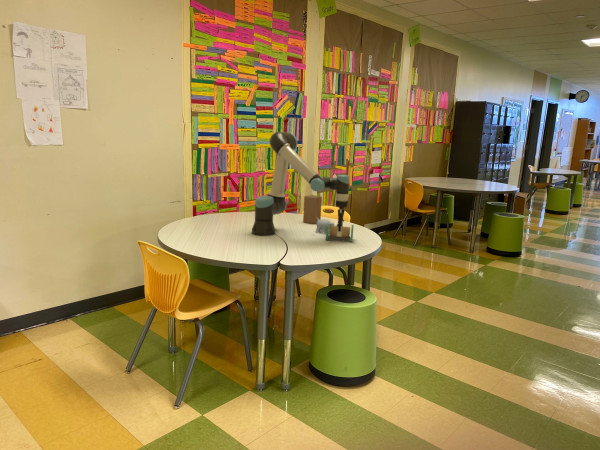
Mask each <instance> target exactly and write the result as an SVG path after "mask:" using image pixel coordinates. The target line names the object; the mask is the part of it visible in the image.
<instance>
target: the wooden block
mask: <svg viewBox="0 0 600 450" xmlns="http://www.w3.org/2000/svg"><path fill="white" fill-rule="evenodd" d="M303 198H304V199H303V215H302V216H303V217H302V222H303V223H305V224H311V225H317V222H318V220H317V218H318V219H319V220H322V217H321V216H322V199H323V197H322V196H321V195H316V194H315V195H314V194H308V195H304V197H303ZM316 217H317V218H316Z"/></svg>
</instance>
